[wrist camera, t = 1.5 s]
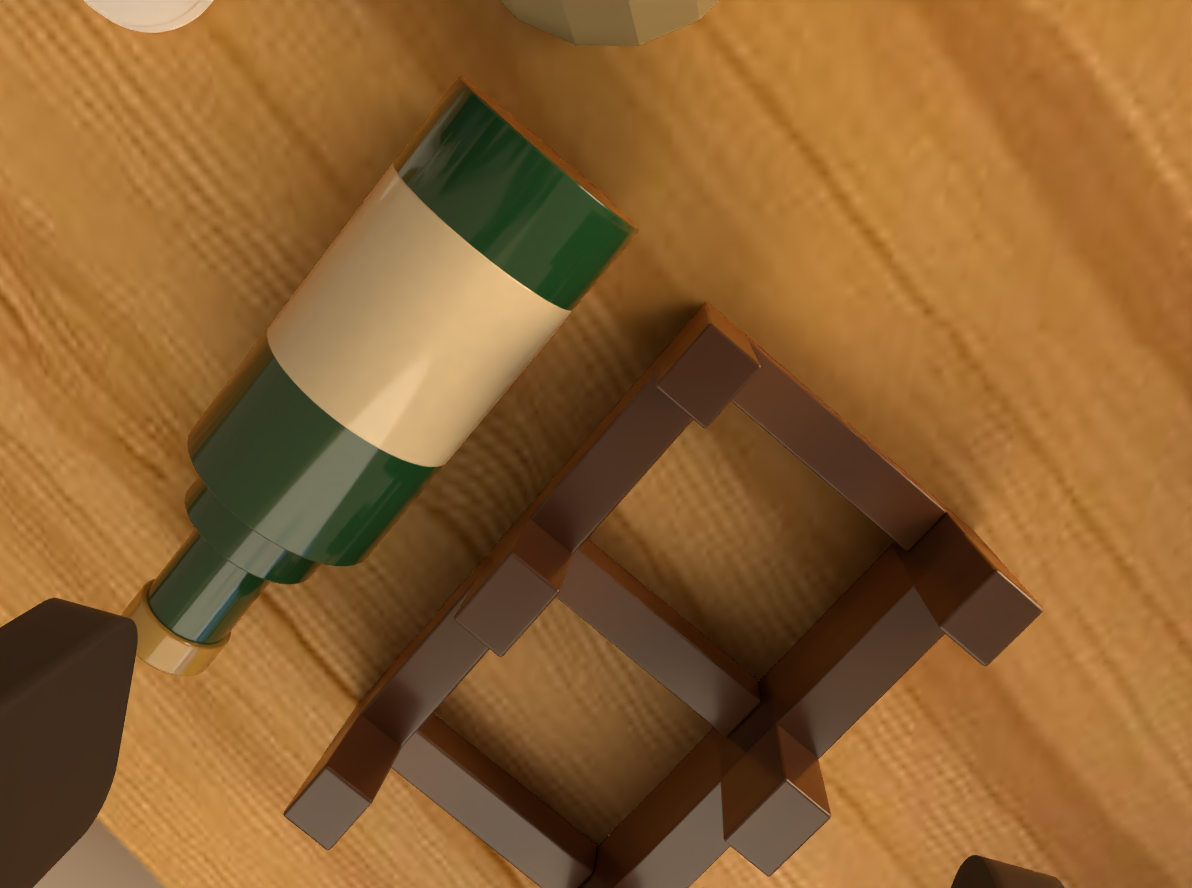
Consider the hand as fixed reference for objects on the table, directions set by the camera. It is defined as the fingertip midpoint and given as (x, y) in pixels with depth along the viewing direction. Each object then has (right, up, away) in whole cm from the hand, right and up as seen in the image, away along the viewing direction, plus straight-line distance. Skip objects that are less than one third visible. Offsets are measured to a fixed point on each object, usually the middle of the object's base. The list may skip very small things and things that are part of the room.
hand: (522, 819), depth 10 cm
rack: (+2, -2, +23) cm, 24 cm away
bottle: (-6, +5, +23) cm, 24 cm away
